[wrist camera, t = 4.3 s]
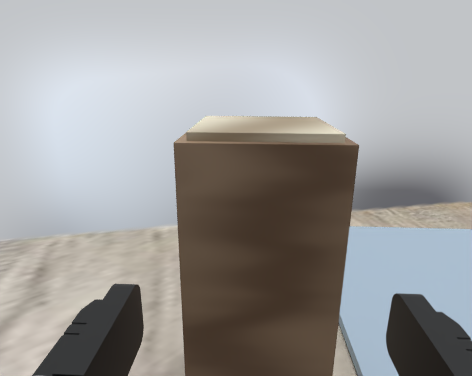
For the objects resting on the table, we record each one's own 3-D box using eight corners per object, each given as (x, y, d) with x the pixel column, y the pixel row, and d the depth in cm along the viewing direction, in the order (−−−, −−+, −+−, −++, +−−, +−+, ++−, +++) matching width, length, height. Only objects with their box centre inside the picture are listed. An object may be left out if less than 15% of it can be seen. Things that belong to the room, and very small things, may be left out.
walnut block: (189, 456, 13) (172, 133, 9) (205, 355, 18) (199, 115, 14) (322, 463, 13) (359, 136, 9) (302, 358, 18) (322, 116, 14)
